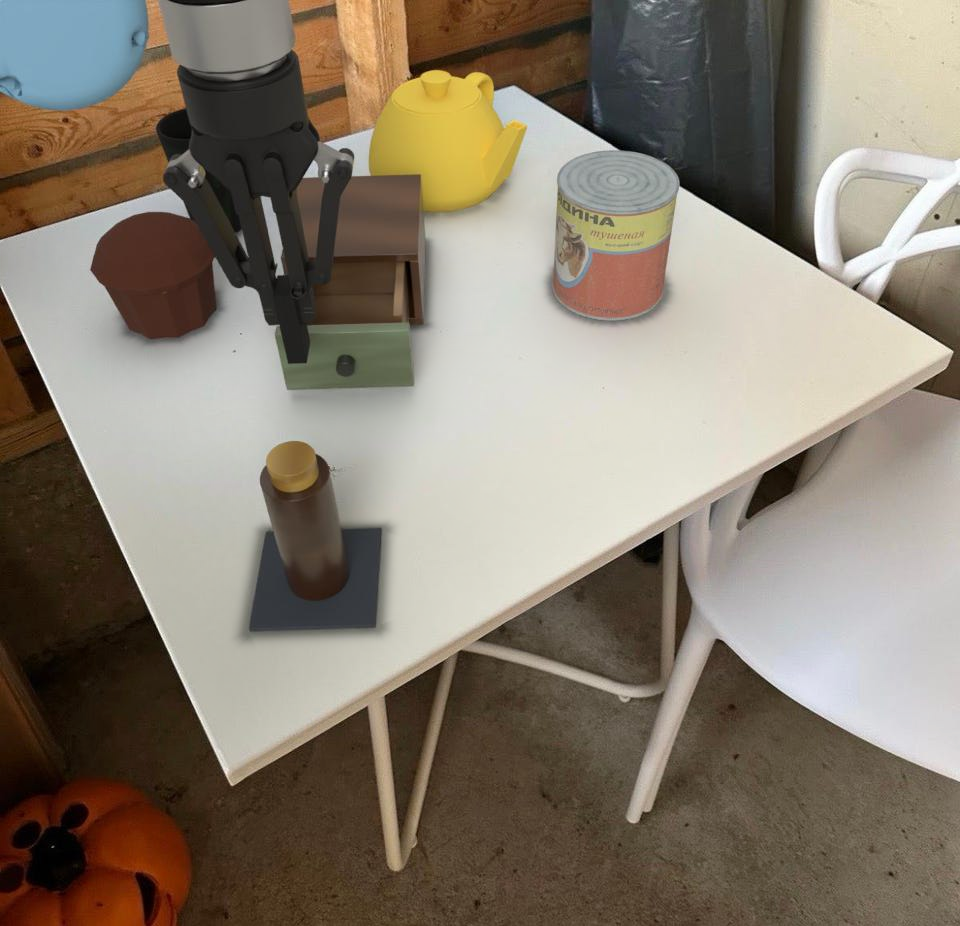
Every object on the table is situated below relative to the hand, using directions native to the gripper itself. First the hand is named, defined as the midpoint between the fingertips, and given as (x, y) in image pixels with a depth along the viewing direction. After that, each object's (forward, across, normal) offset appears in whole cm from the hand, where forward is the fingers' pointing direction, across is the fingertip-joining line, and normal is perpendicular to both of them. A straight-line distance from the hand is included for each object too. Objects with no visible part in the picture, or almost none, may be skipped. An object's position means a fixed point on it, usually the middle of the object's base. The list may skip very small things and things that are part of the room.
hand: (299, 352), depth 74 cm
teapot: (+9, -13, -42) cm, 45 cm away
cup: (+9, +14, -34) cm, 38 cm away
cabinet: (+9, -3, -22) cm, 24 cm away
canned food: (+9, -28, -20) cm, 35 cm away
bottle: (+8, -2, +16) cm, 18 cm away
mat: (+9, -2, +16) cm, 18 cm away
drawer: (+8, -3, -11) cm, 13 cm away
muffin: (+9, +16, -18) cm, 26 cm away
